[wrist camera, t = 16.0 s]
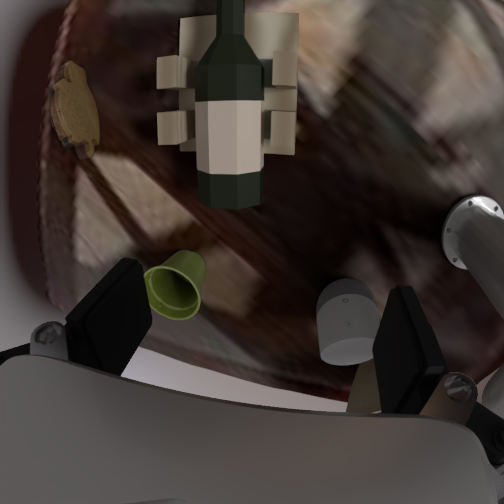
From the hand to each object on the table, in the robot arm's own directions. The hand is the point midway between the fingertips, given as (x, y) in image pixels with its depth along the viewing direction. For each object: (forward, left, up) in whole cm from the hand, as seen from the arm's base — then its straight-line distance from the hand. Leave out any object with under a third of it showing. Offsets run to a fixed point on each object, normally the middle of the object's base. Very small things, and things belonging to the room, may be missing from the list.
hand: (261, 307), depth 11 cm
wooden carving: (+32, -8, -34) cm, 47 cm away
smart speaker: (-10, +22, -34) cm, 41 cm away
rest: (+8, -10, -33) cm, 36 cm away
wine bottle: (+8, +6, -28) cm, 30 cm away
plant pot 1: (+16, +19, -34) cm, 42 cm away
